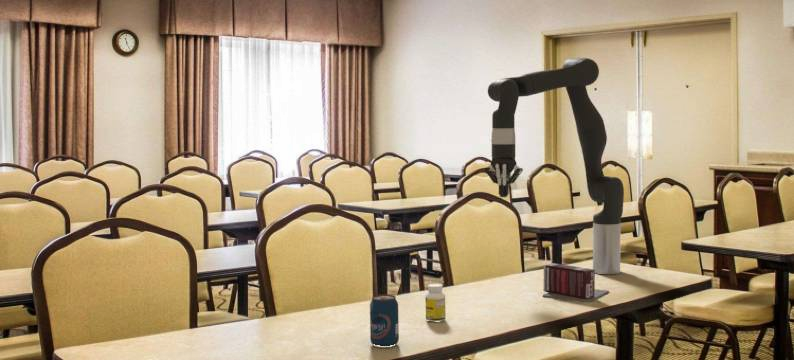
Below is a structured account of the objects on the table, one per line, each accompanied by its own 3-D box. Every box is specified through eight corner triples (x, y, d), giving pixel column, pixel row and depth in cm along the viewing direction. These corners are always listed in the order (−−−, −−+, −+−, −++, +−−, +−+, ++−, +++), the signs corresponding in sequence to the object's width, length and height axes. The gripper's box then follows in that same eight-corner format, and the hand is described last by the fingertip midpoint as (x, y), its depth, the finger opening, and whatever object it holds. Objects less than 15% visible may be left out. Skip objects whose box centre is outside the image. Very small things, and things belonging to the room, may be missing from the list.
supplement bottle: (422, 319, 247) (422, 284, 246) (440, 317, 249) (439, 282, 248) (430, 323, 242) (430, 287, 241) (449, 321, 244) (448, 285, 243)
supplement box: (552, 289, 282) (595, 297, 270) (542, 291, 278) (585, 300, 267) (552, 262, 281) (595, 269, 269) (543, 264, 278) (586, 271, 266)
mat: (563, 287, 287) (563, 285, 287) (608, 292, 279) (608, 290, 279) (542, 296, 274) (542, 295, 274) (589, 302, 266) (589, 300, 265)
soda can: (366, 347, 219) (365, 299, 218) (376, 340, 226) (376, 293, 225) (392, 349, 217) (392, 300, 216) (402, 342, 223) (402, 295, 222)
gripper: (527, 142, 285) (527, 196, 287) (490, 141, 292) (490, 195, 294) (517, 143, 279) (517, 199, 280) (479, 142, 286) (479, 197, 288)
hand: (503, 196), depth 287 cm, fingers closed
